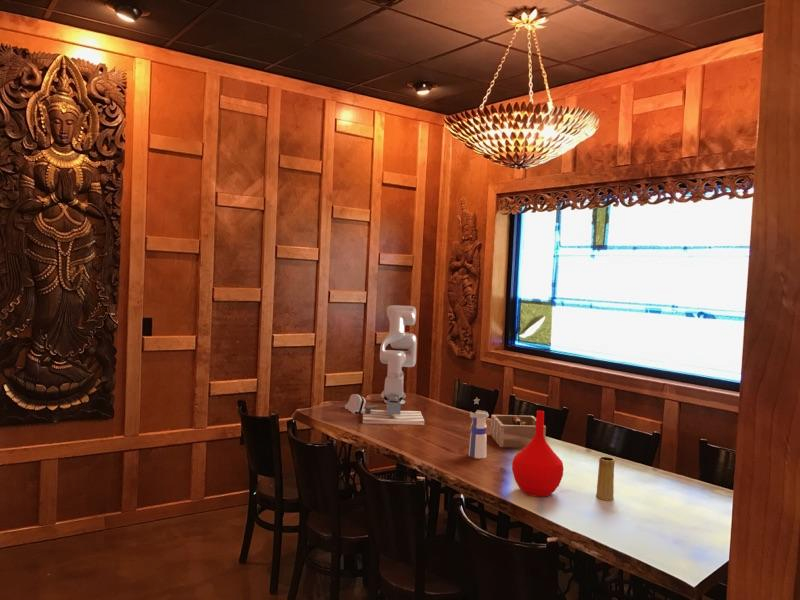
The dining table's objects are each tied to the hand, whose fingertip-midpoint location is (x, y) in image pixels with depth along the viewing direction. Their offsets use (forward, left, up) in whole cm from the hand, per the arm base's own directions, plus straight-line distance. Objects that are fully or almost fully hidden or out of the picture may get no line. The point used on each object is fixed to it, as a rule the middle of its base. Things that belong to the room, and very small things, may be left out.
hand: (392, 408), depth 332 cm
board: (+2, 0, -5) cm, 5 cm away
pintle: (+6, 0, -5) cm, 8 cm away
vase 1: (+110, +48, -5) cm, 120 cm away
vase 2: (+114, +72, -5) cm, 135 cm away
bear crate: (+40, +58, -5) cm, 71 cm away
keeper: (-4, -11, -5) cm, 13 cm away
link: (0, 0, -1) cm, 1 cm away
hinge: (-17, -20, -6) cm, 27 cm away
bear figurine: (+40, +60, -6) cm, 72 cm away
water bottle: (+66, +34, -5) cm, 75 cm away
